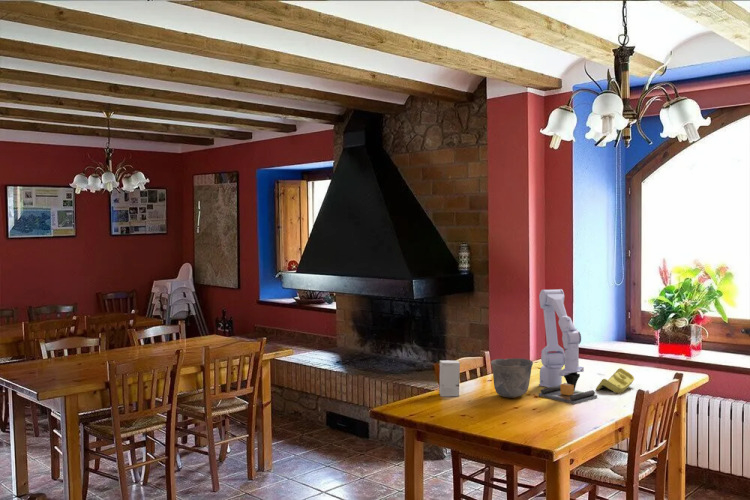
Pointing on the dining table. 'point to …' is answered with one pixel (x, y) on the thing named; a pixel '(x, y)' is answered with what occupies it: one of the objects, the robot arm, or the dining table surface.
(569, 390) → the toggle
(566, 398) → the panel
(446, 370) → the skincare box
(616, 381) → the plastic component
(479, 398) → the dining table surface
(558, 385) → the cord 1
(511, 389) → the gray stone pot
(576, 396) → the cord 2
